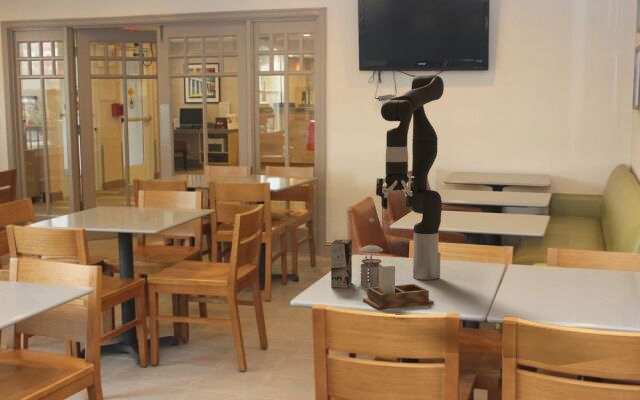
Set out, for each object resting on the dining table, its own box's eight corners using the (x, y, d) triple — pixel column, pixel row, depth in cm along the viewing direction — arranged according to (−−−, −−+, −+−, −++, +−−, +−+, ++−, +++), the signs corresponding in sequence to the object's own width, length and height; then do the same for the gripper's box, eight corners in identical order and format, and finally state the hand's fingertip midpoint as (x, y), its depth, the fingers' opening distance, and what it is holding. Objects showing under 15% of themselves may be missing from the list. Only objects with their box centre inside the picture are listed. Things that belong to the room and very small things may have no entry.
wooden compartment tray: (416, 295, 260) (417, 282, 259) (433, 304, 249) (434, 290, 248) (362, 301, 253) (362, 287, 253) (377, 310, 242) (377, 296, 241)
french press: (388, 285, 275) (388, 216, 272) (380, 292, 264) (380, 221, 261) (362, 283, 278) (362, 215, 275) (353, 290, 268) (353, 220, 265)
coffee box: (348, 288, 271) (348, 243, 269) (330, 287, 272) (330, 243, 270) (352, 282, 280) (352, 239, 278) (335, 282, 281) (335, 238, 279)
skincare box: (378, 298, 252) (378, 262, 251) (390, 297, 253) (391, 262, 251) (382, 302, 246) (382, 266, 245) (395, 302, 247) (395, 265, 245)
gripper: (410, 158, 262) (410, 205, 264) (372, 160, 257) (372, 207, 259) (421, 160, 255) (420, 208, 257) (382, 161, 250) (382, 210, 252)
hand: (396, 207), depth 258 cm, fingers open, 8 cm apart
